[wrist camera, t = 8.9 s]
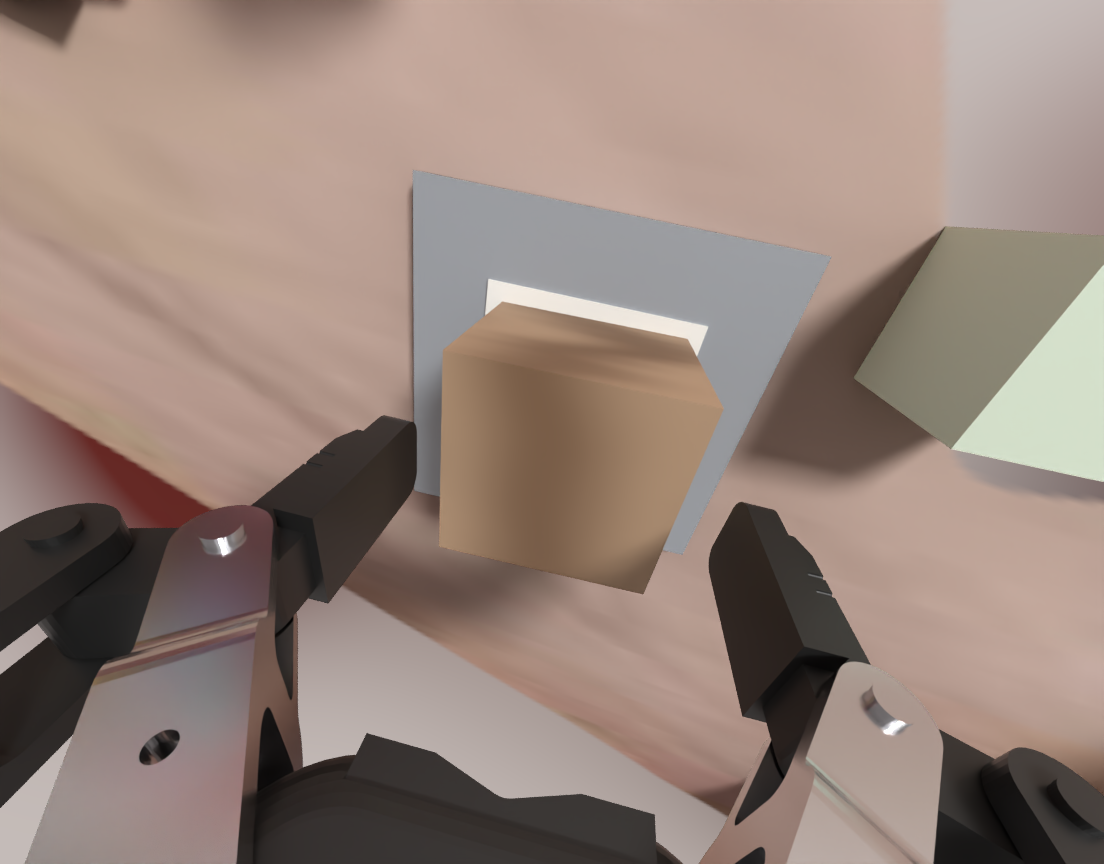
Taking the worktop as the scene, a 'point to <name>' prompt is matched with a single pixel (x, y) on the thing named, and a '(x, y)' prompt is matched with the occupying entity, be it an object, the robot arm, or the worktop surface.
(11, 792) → the robot arm
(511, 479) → the walnut block
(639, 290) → the pad
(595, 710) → the worktop surface
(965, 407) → the sage cube
